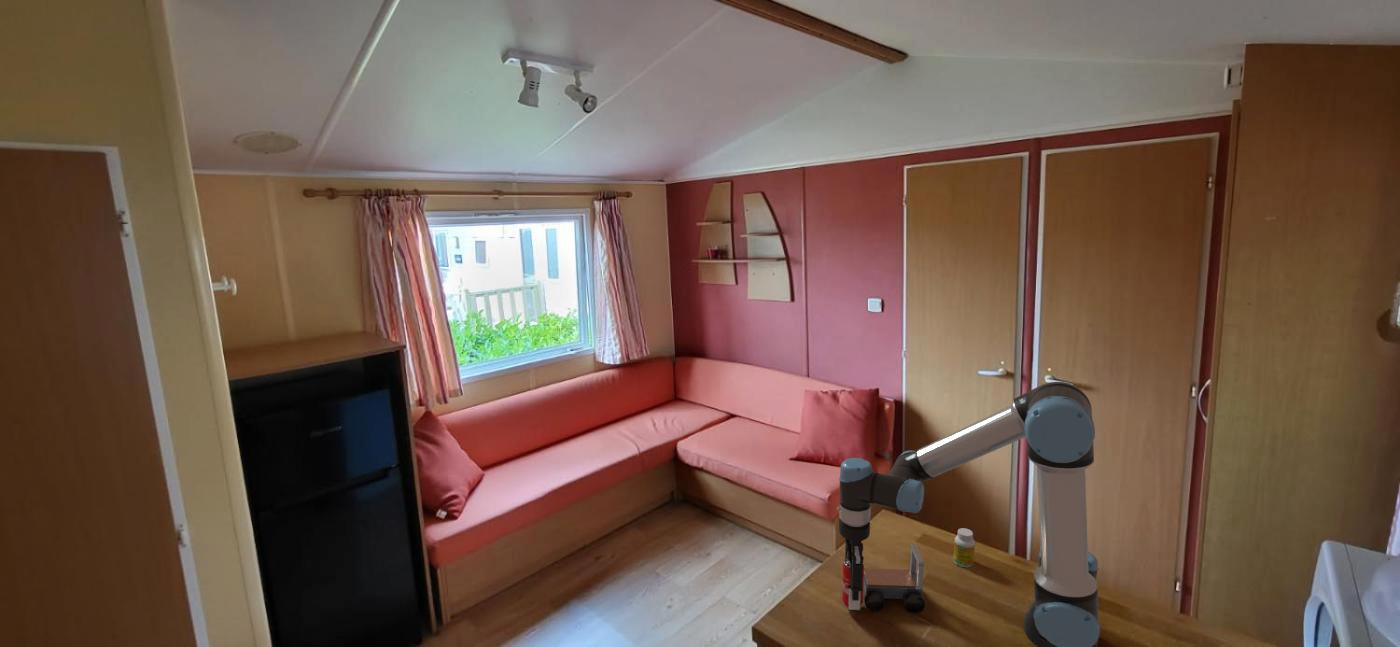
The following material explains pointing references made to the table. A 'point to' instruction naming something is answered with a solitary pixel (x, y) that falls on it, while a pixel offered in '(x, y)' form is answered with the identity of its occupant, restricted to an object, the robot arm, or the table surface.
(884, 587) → the trolley
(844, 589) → the beverage can
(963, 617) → the table surface
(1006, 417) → the robot arm
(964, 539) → the supplement bottle
